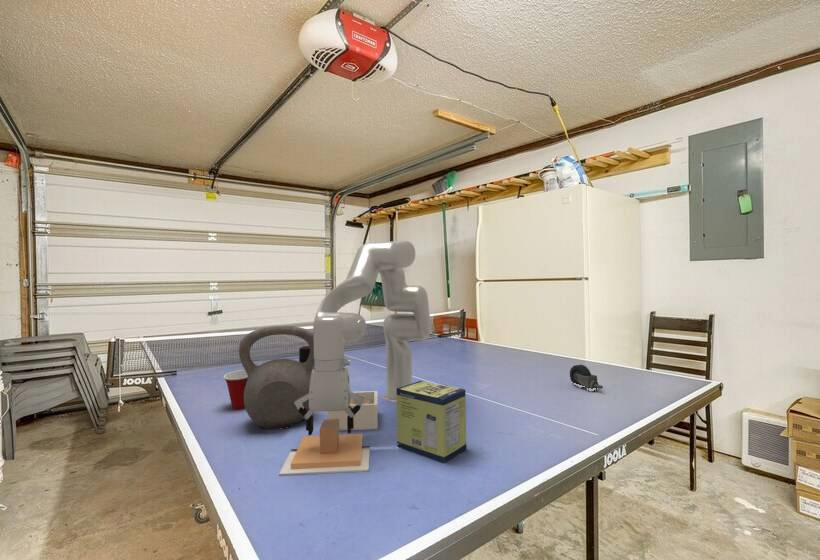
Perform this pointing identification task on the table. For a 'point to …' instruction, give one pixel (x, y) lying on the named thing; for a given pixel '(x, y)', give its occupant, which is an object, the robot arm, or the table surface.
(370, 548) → the table surface
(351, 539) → the table surface
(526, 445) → the table surface
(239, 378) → the plastic cup
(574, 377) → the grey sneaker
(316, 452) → the lid
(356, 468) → the mat
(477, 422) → the table surface
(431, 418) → the protein box
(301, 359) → the spray can
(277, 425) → the kettlebell
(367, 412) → the bin
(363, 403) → the walnut block
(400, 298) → the robot arm
